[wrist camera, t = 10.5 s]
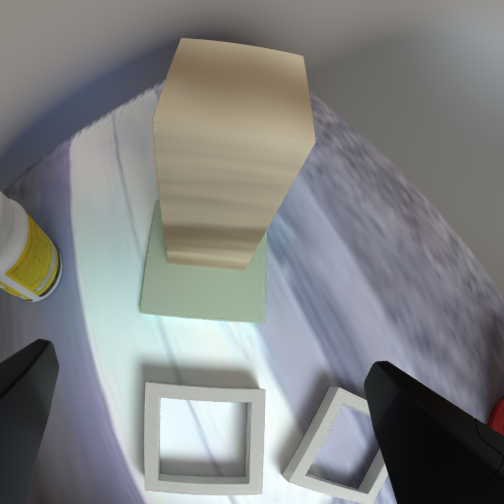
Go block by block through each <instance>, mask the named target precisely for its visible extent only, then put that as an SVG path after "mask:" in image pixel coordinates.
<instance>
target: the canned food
mask: <svg viewBox="0 0 504 504" xmlns="http://www.w3.org/2000/svg"><path fill="white" fill-rule="evenodd" d="M488 426H489V427H490V428H492V429H493V430H495V431H497V432H499V433H501V434H503V435H504V397H503V398H502V399H501V400H500V401H499V402H498V403H497V405H496V407H495V408H494V410H493V413H492V415H491V417H490V420H489V424H488Z"/></svg>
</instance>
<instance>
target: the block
mask: <svg viewBox="0 0 504 504" xmlns="http://www.w3.org/2000/svg"><path fill="white" fill-rule="evenodd" d="M152 126H153V139H154V151H155V162H156V172H157V182H158V191H159V199H160V207H161V215H162V223H163V230H164V237H165V244H166V251H167V257H168V264H176V265H186V266H197V267H208V268H219V269H230V270H241V271H244V270H245V268H246V267H247V265H248V263H249V261H250V259H251V258H252V256H253V254H254V252H255V250H256V249H257V247H258V245H259V243H260V241H261V240H262V238H263V236H264V234H265V232H266V231H267V229H268V227H269V225H270V223H271V222H272V220H273V218H274V216H275V214H276V213H277V211H278V209H279V207H280V205H281V204H282V202H283V200H284V198H285V196H286V195H287V193H288V191H289V189H290V187H291V186H292V184H293V182H294V180H295V178H296V177H297V175H298V173H299V171H300V169H301V168H302V166H303V164H304V162H305V160H306V159H307V157H308V155H309V153H310V151H311V150H312V148H313V146H314V144H315V142H316V140H315V132H314V125H313V117H312V110H311V103H310V96H309V89H308V83H307V77H306V70H305V64H304V60H303V56H300V55H296V54H291V53H286V52H282V51H277V50H272V49H266V48H261V47H254V46H249V45H242V44H235V43H227V42H219V41H210V40H200V39H187V38H181V41H180V43H179V45H178V48H177V51H176V53H175V56H174V58H173V61H172V64H171V66H170V69H169V72H168V74H167V77H166V80H165V83H164V86H163V89H162V92H161V94H160V97H159V100H158V104H157V107H156V110H155V113H154V116H153V119H152Z"/></svg>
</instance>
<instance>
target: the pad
mask: <svg viewBox="0 0 504 504" xmlns="http://www.w3.org/2000/svg"><path fill="white" fill-rule="evenodd" d="M266 259H267V231H266V232H265V234H264V236H263V238H262V240H261V241H260V243H259V245H258V247H257V249H256V250H255V252H254V254H253V256H252V258H251V259H250V261H249V263H248V265H247V267H246V268H245V270H244V271H241V270H230V269H219V268H208V267H197V266H186V265H176V264H168V257H167V251H166V244H165V237H164V230H163V223H162V215H161V207H160V200H156V205H155V211H154V216H153V222H152V228H151V234H150V240H149V246H148V253H147V260H146V267H145V274H144V282H143V290H142V299H141V308H140V313H142V314H151V315H160V316H170V317H181V318H192V319H204V320H217V321H231V322H247V323H266Z"/></svg>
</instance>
